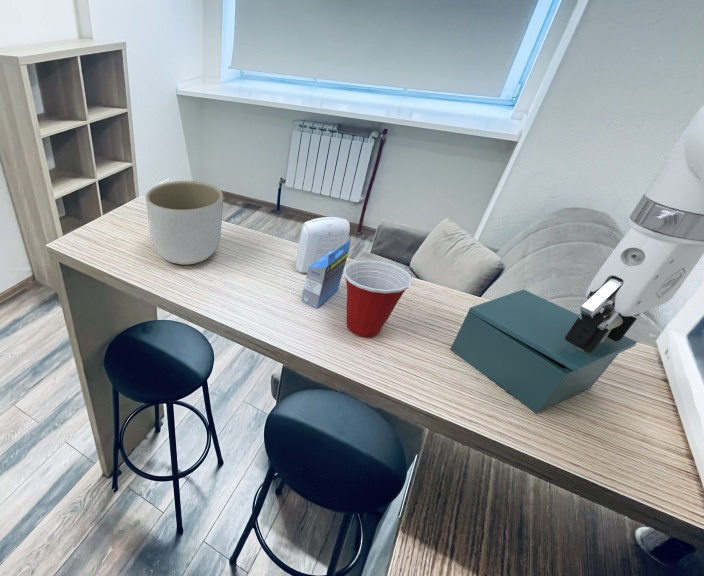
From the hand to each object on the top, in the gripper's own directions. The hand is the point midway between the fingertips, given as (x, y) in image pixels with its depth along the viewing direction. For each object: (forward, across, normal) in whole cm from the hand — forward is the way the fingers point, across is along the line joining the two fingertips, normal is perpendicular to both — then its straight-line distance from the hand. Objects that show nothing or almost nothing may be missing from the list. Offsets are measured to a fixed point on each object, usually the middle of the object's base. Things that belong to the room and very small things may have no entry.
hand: (592, 339), depth 56 cm
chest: (+11, 0, +6) cm, 12 cm away
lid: (+2, 0, +5) cm, 6 cm away
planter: (+11, -36, +62) cm, 72 cm away
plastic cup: (+11, -16, +24) cm, 31 cm away
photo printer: (+11, -11, +44) cm, 46 cm away
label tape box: (+11, -17, +35) cm, 40 cm away
